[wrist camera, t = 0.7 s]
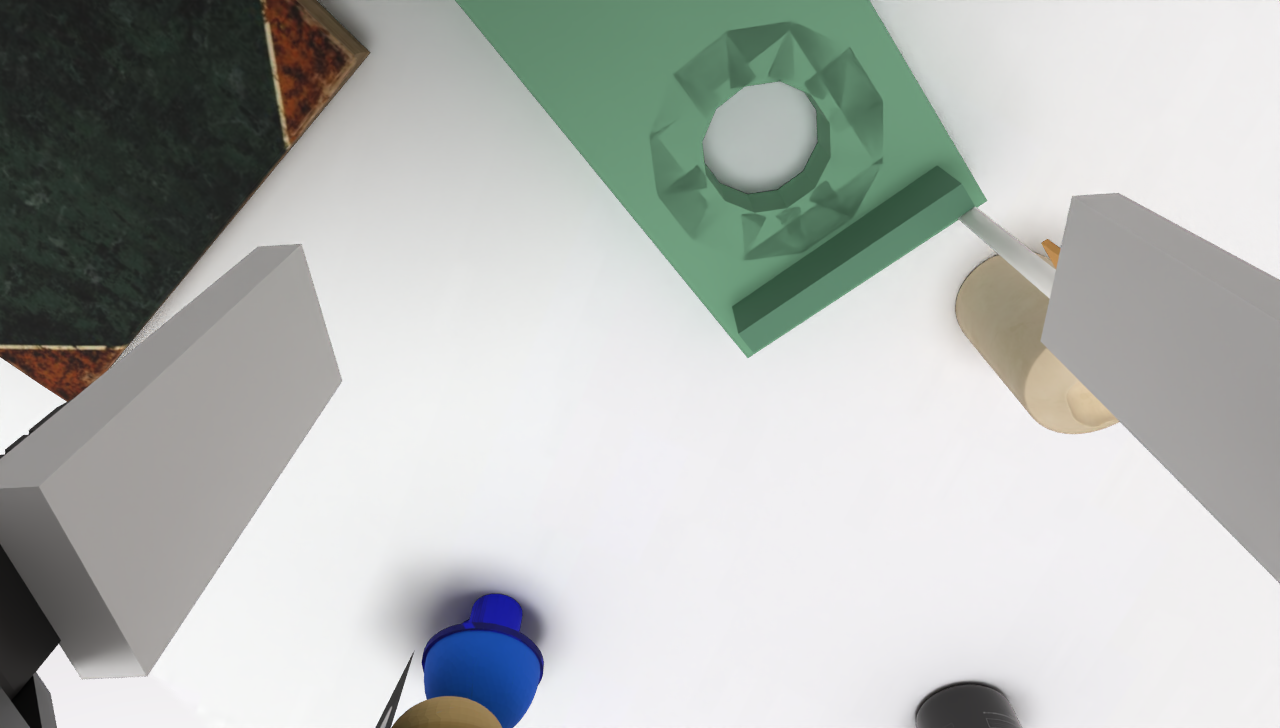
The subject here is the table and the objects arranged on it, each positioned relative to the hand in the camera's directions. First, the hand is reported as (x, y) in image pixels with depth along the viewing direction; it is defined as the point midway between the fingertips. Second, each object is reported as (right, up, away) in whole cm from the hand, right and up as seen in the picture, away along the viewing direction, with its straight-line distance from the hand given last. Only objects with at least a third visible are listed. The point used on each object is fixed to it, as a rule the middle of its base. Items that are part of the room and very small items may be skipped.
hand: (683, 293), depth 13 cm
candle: (+18, +2, +27) cm, 32 cm away
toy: (-11, -18, +38) cm, 44 cm away
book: (-27, +11, +23) cm, 37 cm away
